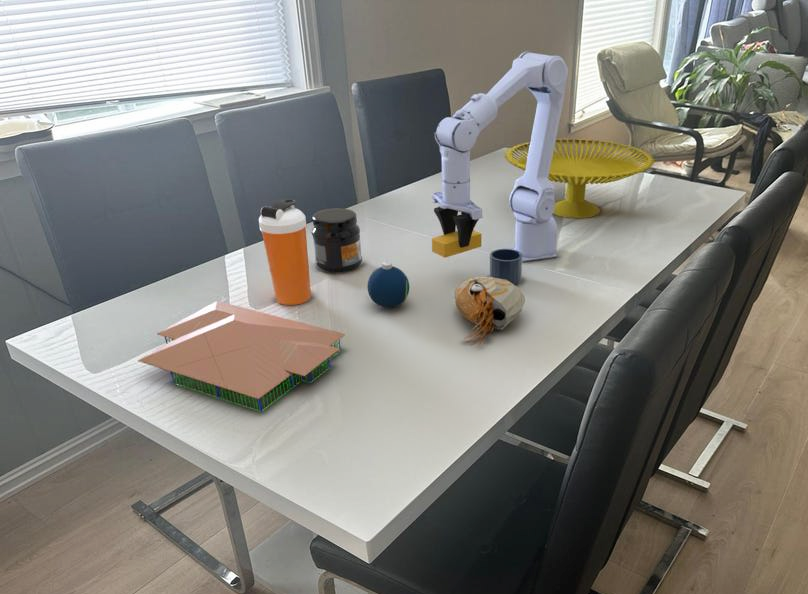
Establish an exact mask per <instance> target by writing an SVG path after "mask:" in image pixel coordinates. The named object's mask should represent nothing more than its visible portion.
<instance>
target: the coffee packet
mask: <svg viewBox="0 0 808 594" xmlns="http://www.w3.org/2000/svg"><path fill="white" fill-rule="evenodd" d="M482 237H483V235H482V233H481V232H479V231H477V230H475V229H473V232H472V235H471V239H470V243H469V246H466V247H463V248H461V247H460V246H459V241H458V231H457V230H456V232H452V233H449V234H445V235H444V234H441V235H438V236H436V237H432V238H431V252H432V253H434V254H436V255H439V257H443V258H444V259H445V258H449V257H452V256H456V255H458V254H462V253H465V252H468V251H472V250H475V249H478V248H481V247H482Z"/></svg>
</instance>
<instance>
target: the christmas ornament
mask: <svg viewBox="0 0 808 594" xmlns="http://www.w3.org/2000/svg"><path fill="white" fill-rule="evenodd" d="M366 288H367V289H366V290H367V294H368V296H369V298H370V300H372V302H373V303H375V304H376V305H377V306H379V307H382V308H385V309H387V308H388V309H392V308H396V307H398V306H400V305H402V304H403V303H404V302H405V301H406V300H407V298H408V296H409V293H410V281H409V278H408V276H407V275H406V274H405V273H404V271H403V270H401V269H400V268H399V267H396V266H393V263H392V262H391V261H388V260H385V261H383V262H382V263H381V266H380V267H378V268H376V269H375V270H374V271H372V273H371V274H370V276H369V278H368V280H367V286H366Z"/></svg>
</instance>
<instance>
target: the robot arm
mask: <svg viewBox="0 0 808 594" xmlns="http://www.w3.org/2000/svg"><path fill="white" fill-rule="evenodd" d="M569 69H570V68H569V67H568V66H567V64H566V62H565V60H564V59H563V58H562V56H559V55H550V54H543V53H534V52H531V51H524V52H522V53H521V54H519V55H518V57H516V58H514V59H513V61H512V65H511V68H510V69H509V70H508V71H507V72H506V73H505V74H504V75H503V76H502V77H501V79H499V81H497V83H496V84H494V86H493V87H492V88H491V89H490V90H489V91H488V92H487V93H477V94H476V93H474V94H473V95H471V97H470V100H469V101H468V102H467V103H466V104H465V105H463V107H461V108H459V109H457V111H455V112H454V114H453V116H452V117H451V116H448V117H445V118H443V119H442V120H441V121H440V122H438V125H437V127H436V130H435V132H434V139H435V141H436V143H437V144H438V146H439V153H440V156H441V186H442V187H441V189H442V190H441V191H436V192H432V193H431V202H432V203H434V204H438V207H434V208H433V212H434V214H435V216H436V217H437V219H438V221H439V224H440V227H441V230H442V233H443V234H442V235H445V234H449V233H452V232H456V231H458V241H459V246H460V247H461V248H463V247H466V246H469V243H470V239H471V235H472V232H473V230H475V227H476V225H477V223H478V221H479V220H480V219H483V208H481V207H480V206H478V204H476V203H475V202H474V201H473V200H472V199H471V149H473V148H474V146H475V144H476V141H477V139H478V136H480V133H481V132H482V131H483V130H484V129H485V128H486V127H487V126H489V124H491V122H493V121H494V120H495V119H496V118H497V116H498V112H499V111H498V110H499V108H500V107H501V106H502V105H503V104H504V103H506V102H508V101H509V100H510V99H511V98H512V97H513V96H515V95H516V94H518V93H519V92H520V91H522V90H523V89H524V88H526V89H527V90H528V91H530V92H531V93H532V95H533V97H534V98H535V100H536V101H537V104H536V110H535V115H534V121H533V126H532V131H531V136H530V141H531V142H530V146H528V147H529V150H528V153H527V155H528V158H527V163H526V169H525V171H524V174H522V175H521V176H520V177H518V178H517V179H516V180H515V181H514V186H513V189H512V191H511V193H510V194H509V198H508V206H509V209H510V210H511V211H512V212H513V217H514V218H515V225H514V227H515V229H514V247H513V246H512V247H508V249H513V250H517V251H519V252H521V253H522V263H523V262H529V261H530V262H531V261H537V260H544V259H552V258H557V257H558V254H557V243H558V242H557V239H558V226H557V221H556V219H555V218H554V217H553V214H554V213H553V212H554V209H555V203H556V200H555V196H556V188H555V185H553V184H552V181H550V180H549V179H548V176H549V171H550V166H551V161H552V156H553V153H554V152H555V151H554V146H556V139H557V135H558V131H559V125H560V120H561V115H562V110H563V105H564V100H565V91H566V86H567V81H568V75H569V72H570V71H569ZM459 213H460V214H459Z"/></svg>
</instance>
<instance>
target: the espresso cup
mask: <svg viewBox="0 0 808 594" xmlns="http://www.w3.org/2000/svg"><path fill="white" fill-rule="evenodd" d="M488 273H489V274H488V275H489V276H488V277H493V278H498V279H504V280H507V281H509V282H511V283H512V284H514V285H515V286H518V285H519V284H520V283H522V277H523V276H522V275H523V274H522V273H523V262H522V253H521V252H519V251H517V250H513V249H509V248H498V249H494V250H492V251H491V252H490V253H489V272H488Z"/></svg>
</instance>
